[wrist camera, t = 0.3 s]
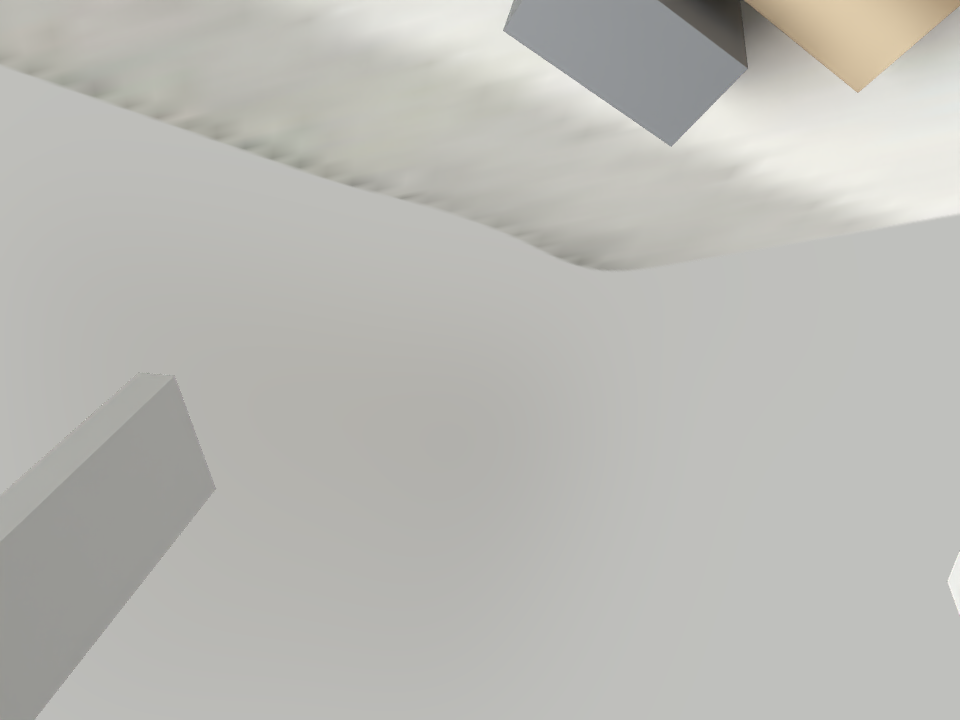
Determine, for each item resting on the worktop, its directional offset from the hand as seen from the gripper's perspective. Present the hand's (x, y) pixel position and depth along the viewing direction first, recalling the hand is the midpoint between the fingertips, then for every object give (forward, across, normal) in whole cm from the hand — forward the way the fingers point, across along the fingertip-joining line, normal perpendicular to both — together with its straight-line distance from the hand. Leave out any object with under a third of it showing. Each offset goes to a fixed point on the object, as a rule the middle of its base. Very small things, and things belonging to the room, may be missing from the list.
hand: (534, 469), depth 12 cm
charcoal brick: (+25, 0, +5) cm, 26 cm away
